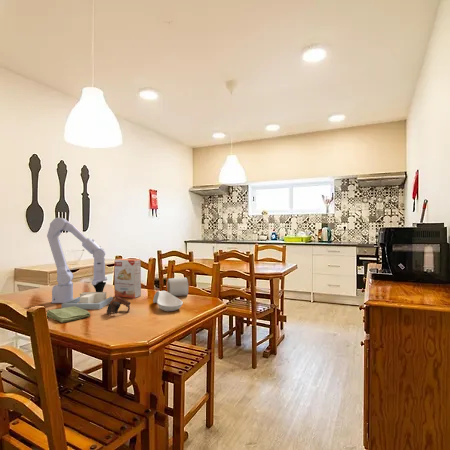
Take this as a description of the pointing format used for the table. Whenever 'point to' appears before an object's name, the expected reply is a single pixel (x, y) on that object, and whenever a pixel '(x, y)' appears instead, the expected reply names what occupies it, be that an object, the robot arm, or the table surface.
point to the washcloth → (68, 314)
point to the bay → (86, 304)
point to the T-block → (92, 297)
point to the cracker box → (127, 277)
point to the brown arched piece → (117, 305)
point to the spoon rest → (167, 301)
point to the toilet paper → (177, 286)
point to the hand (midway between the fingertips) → (99, 296)
